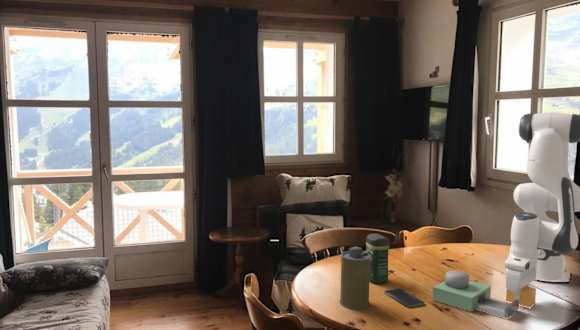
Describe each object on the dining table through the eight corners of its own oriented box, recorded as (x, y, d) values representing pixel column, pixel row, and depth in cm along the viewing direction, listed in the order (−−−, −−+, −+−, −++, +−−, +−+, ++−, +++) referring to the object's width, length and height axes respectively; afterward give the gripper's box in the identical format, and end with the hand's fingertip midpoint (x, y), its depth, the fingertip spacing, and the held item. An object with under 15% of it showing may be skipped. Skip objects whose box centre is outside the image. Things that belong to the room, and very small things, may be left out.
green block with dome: (453, 289, 176) (454, 266, 175) (490, 299, 166) (491, 275, 165) (432, 300, 164) (433, 276, 164) (471, 312, 155) (472, 286, 154)
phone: (407, 306, 157) (383, 290, 171) (407, 309, 158) (383, 293, 171) (426, 303, 160) (400, 288, 174) (426, 306, 160) (400, 290, 174)
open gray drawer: (486, 301, 164) (487, 291, 163) (518, 310, 156) (519, 300, 156) (474, 309, 157) (475, 299, 156) (507, 319, 149) (508, 308, 149)
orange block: (511, 298, 167) (512, 282, 166) (534, 305, 161) (536, 288, 161) (505, 302, 163) (506, 286, 163) (530, 309, 158) (531, 292, 157)
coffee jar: (391, 283, 181) (392, 237, 179) (373, 285, 179) (374, 238, 177) (379, 275, 191) (381, 231, 189) (362, 276, 188) (363, 232, 186)
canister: (354, 311, 154) (355, 253, 152) (333, 301, 163) (334, 246, 161) (376, 304, 161) (378, 248, 159) (355, 294, 169) (357, 241, 167)
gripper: (523, 251, 170) (521, 287, 172) (502, 263, 156) (500, 302, 157) (542, 255, 166) (539, 292, 167) (522, 267, 151) (520, 308, 153)
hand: (520, 297), depth 162 cm, fingers closed on orange block, 5 cm apart
